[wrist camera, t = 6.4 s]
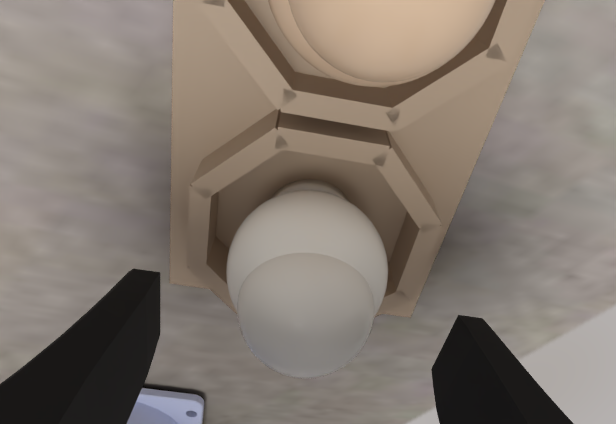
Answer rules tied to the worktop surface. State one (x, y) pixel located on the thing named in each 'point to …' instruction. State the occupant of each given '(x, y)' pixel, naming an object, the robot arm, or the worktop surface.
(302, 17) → the brown egg
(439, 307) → the worktop surface
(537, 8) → the egg tray
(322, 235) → the cream egg
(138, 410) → the robot arm
